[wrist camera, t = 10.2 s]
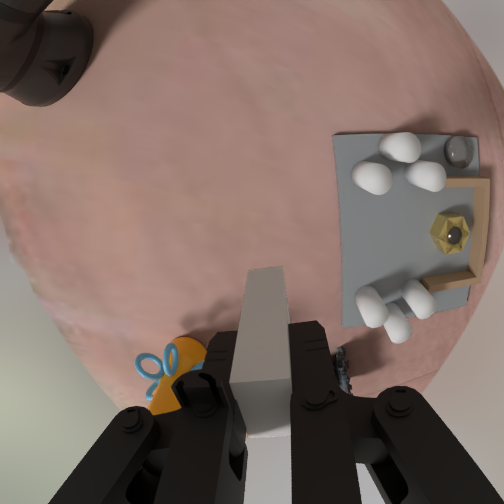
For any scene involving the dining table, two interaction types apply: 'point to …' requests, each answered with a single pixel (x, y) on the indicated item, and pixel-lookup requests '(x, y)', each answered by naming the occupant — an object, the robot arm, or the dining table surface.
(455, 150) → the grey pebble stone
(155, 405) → the cylinder
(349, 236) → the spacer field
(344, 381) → the dark piece
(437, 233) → the nut
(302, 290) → the dining table surface
